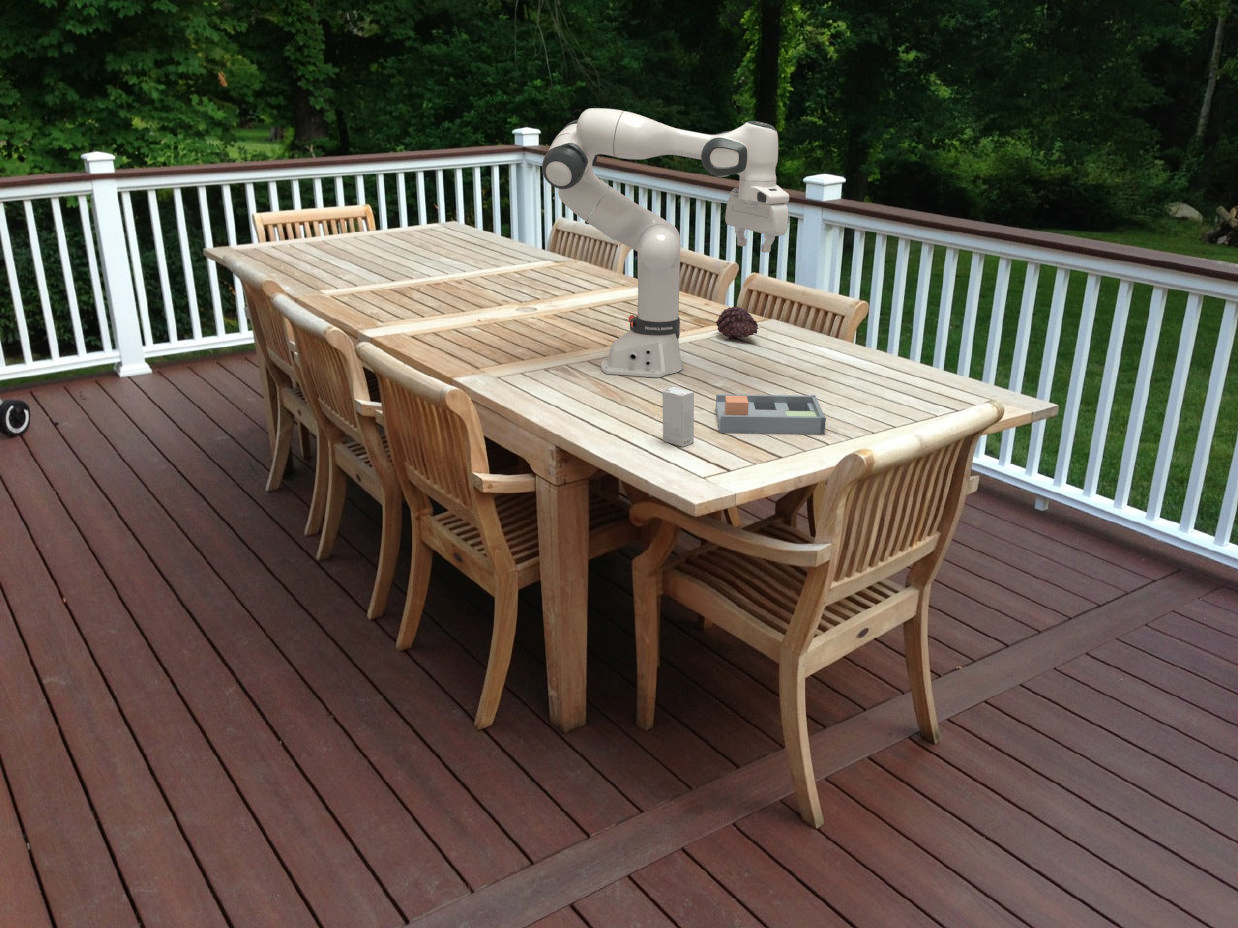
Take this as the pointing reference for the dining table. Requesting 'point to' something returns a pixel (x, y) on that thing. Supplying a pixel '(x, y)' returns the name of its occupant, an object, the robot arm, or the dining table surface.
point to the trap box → (773, 415)
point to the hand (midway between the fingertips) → (753, 249)
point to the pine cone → (736, 323)
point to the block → (736, 405)
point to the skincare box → (678, 416)
